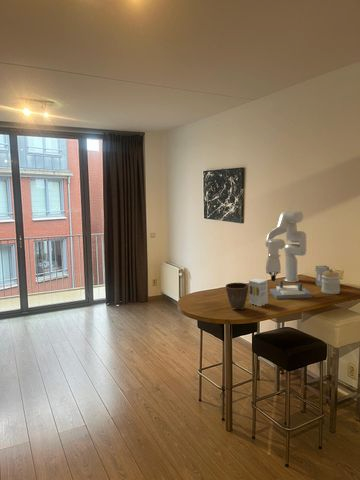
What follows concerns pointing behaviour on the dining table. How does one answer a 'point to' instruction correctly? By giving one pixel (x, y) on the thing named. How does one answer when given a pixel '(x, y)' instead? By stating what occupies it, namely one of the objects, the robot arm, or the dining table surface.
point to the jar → (330, 282)
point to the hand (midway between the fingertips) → (273, 280)
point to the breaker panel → (279, 296)
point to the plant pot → (237, 294)
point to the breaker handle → (299, 286)
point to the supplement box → (258, 292)
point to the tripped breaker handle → (280, 283)
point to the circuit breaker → (320, 274)
